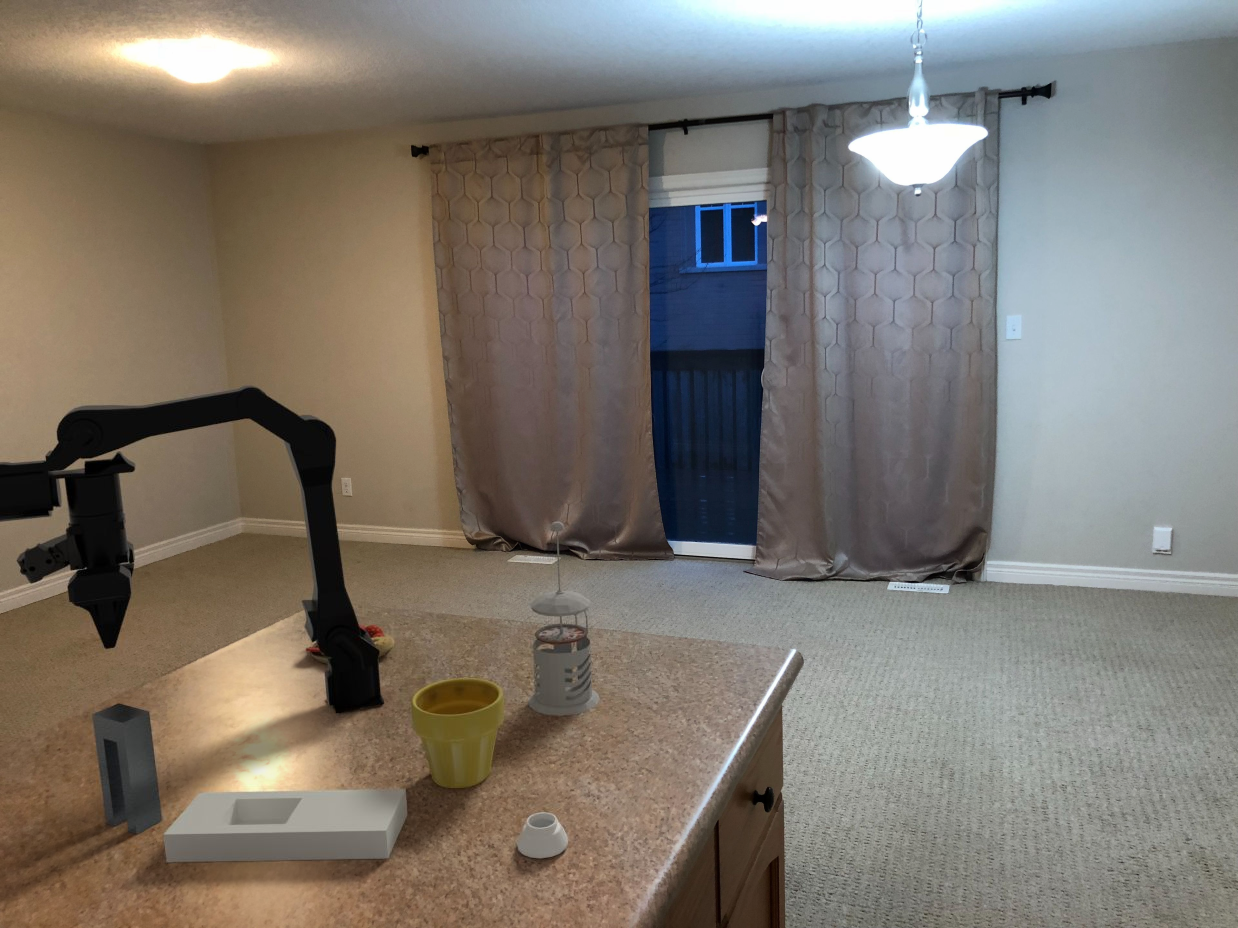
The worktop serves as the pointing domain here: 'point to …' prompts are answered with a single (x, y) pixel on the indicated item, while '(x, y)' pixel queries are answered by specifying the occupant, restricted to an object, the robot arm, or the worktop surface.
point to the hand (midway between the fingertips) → (111, 636)
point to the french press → (562, 654)
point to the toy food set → (376, 634)
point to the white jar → (542, 836)
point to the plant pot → (458, 728)
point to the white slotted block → (287, 826)
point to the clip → (127, 767)
